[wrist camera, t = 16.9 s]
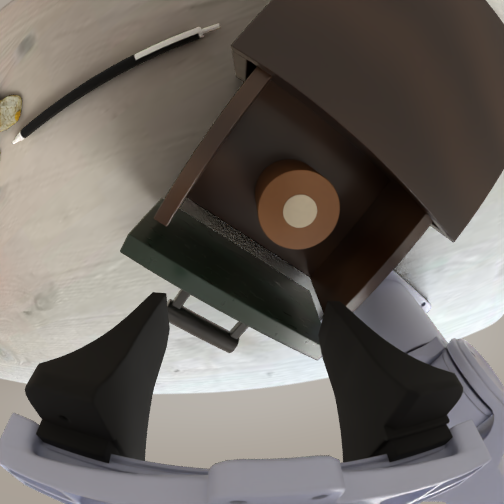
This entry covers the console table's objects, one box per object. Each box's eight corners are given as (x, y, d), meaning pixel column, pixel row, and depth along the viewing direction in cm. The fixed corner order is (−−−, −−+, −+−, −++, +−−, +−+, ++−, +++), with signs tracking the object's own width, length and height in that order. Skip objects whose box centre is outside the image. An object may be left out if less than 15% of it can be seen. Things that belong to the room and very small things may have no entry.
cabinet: (389, 198, 21) (453, 243, 13) (235, 76, 17) (230, 45, 9) (470, 85, 17) (542, 89, 9) (342, -37, 13) (385, -90, 5)
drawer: (268, 334, 25) (275, 395, 19) (129, 255, 22) (94, 306, 15) (402, 181, 20) (456, 209, 13) (257, 61, 16) (265, 31, 10)
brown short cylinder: (334, 186, 19) (356, 203, 15) (294, 236, 20) (305, 264, 16) (282, 145, 17) (292, 152, 14) (241, 200, 19) (240, 221, 15)
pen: (222, 32, 16) (221, 27, 15) (16, 147, 18) (8, 149, 17) (218, 22, 15) (216, 17, 14) (13, 138, 17) (5, 140, 16)
